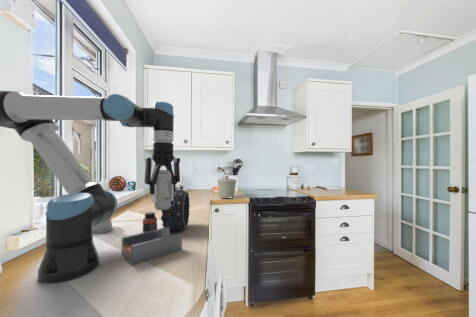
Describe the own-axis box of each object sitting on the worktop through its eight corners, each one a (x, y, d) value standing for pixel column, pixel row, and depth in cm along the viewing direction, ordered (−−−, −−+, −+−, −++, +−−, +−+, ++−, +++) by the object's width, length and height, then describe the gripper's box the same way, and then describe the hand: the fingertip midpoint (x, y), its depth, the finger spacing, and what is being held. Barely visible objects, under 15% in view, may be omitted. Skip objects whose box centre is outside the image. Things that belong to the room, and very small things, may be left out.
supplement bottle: (159, 236, 97) (160, 211, 97) (151, 241, 91) (151, 215, 91) (148, 235, 99) (148, 211, 99) (139, 240, 93) (139, 214, 93)
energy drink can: (167, 210, 80) (168, 170, 81) (151, 210, 80) (152, 170, 81) (172, 207, 86) (173, 170, 87) (157, 206, 86) (158, 169, 87)
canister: (215, 197, 205) (215, 175, 205) (233, 196, 210) (233, 174, 211) (219, 200, 188) (219, 176, 188) (238, 199, 193) (238, 176, 193)
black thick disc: (190, 223, 118) (190, 187, 118) (183, 236, 98) (183, 192, 98) (170, 223, 117) (170, 187, 117) (159, 236, 97) (159, 192, 97)
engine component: (85, 234, 100) (109, 231, 104) (85, 191, 101) (110, 189, 105) (91, 227, 111) (113, 225, 114) (91, 188, 111) (113, 187, 115)
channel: (132, 265, 70) (132, 246, 70) (121, 254, 79) (121, 237, 79) (181, 249, 82) (181, 233, 83) (167, 241, 91) (167, 226, 91)
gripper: (141, 140, 75) (141, 206, 74) (189, 143, 88) (189, 199, 87) (134, 141, 80) (133, 203, 80) (180, 144, 93) (180, 197, 93)
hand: (162, 201), depth 83 cm, fingers closed on energy drink can, 6 cm apart
